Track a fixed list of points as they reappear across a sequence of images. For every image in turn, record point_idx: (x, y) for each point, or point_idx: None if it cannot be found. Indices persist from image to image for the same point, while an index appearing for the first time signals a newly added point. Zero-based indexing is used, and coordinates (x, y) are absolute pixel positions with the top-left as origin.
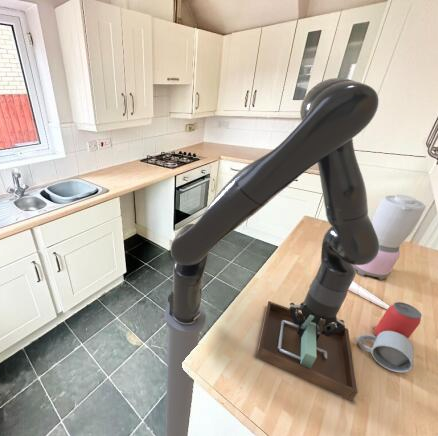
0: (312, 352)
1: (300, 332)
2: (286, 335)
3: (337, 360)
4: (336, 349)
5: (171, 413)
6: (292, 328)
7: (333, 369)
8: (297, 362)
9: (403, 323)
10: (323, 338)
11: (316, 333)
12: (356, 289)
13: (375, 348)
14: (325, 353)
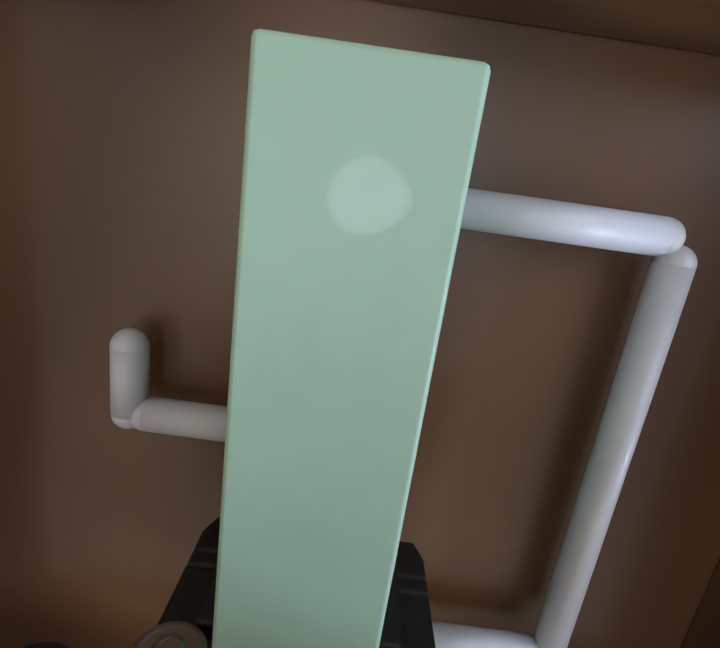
0: (330, 150)
1: (394, 572)
2: (515, 486)
3: (22, 365)
4: (30, 492)
5: None
6: (436, 590)
7: (62, 229)
8: None
9: None
10: (144, 574)
11: (204, 638)
12: None
13: None
14: (125, 387)
